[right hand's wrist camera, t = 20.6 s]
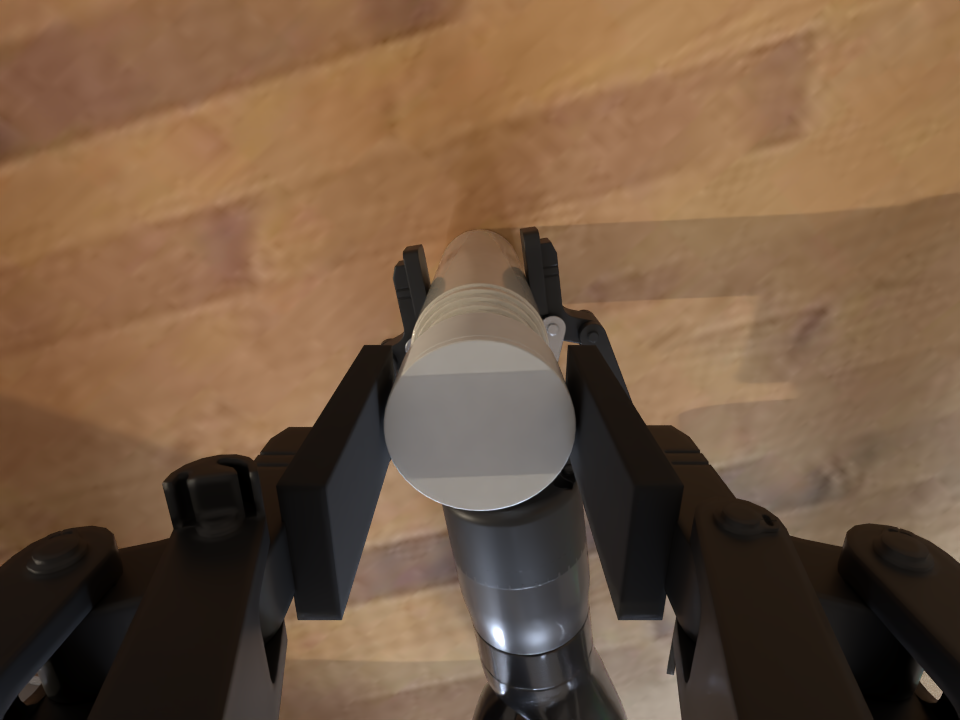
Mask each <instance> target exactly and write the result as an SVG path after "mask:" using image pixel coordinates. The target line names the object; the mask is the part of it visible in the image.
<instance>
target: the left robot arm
mask: <svg viewBox="0 0 960 720" xmlns="http://www.w3.org/2000/svg"><path fill="white" fill-rule="evenodd" d="M520 235H521V243H522V251H523V259H524V267H525V275H526V279H527V282H528V284H529V287H530V289H531V292H532V295H533V297H534V300H535V302H536V305H537V307H538V310H539V312H540V315H541V317H542V320H543V323H544V325H545V328H546V331H547V335H548V341H549V348H550V349H551V351H552V352H553V354H554V356H555V358H556V360H557V362H558V360H559V356H560V352H561V348H562V343H563V341H568V342H573V343H579V345H596V346H597V348H598V349H599V351H600V353H601V354H602V356H603V357H604V359H605V361H606V362H607V364H608V365H609V367H610V368H611V370H612V372H613V373H614V375H615V376H616V378H617V380H618V381H619V383H620V384H621V386H622V388H623V389H624V391H625V392H626V394H627V395H628V397H629V399H630V400H631V398H630V395H629V392H628V390H627V387H626V384H625V382H624V379H623V377H622V374H621V371H620V369H619V366H618V363H617V361H616V358H615V355H614V353H613V350H612V347H611V345H610V342H609V339H608V337H607V334H606V331H605V329H604V328H603V327H602V325H601V324H600V323H599V321H598V320H597V319H596V317H595V316H594V315H593V313H592V312H590V311H588V310H580V311H576V310H571V309H567V308H565V307H564V306H563V305H562V299H561V289H560V280H559V270H558V260H557V252H556V251H555V249H554V247H553V245H552V243H551V242H550V240H549V239H548V238H542V239H540V237H539V232H538V229H537V228H536V227H529V228H523V229H520ZM393 281H394V285H395V290H396V294H397V298H398V303H399V308H400V312H401V317H402V322H403V326H404V332H403V333H402V334H401V335H399V336H397V337H395V338H393V339H386V340H384V341H383V342H382V344H381V345H392V351H393V367H394V382H395V379H396V377H397V374H398V372H399V369H400V366H401V364H402V362H403V359H404V357H405V355H406V353H407V352H408V350H409V349H410V347H411V338H412V333H413V330H414V327H415V324H416V322H417V319H418V317H419V314H420V312H421V309H422V306H423V304H424V301H425V299H426V296H427V294H428V291H429V289H430V286H431V284H430V279H429V274H428V269H427V263H426V258H425V253H424V249H423V246H422V244H421V245H415V246H409V247H406V249H405V250H404V251H403V260H402V261H399V262H398V263H397V265H396V266H395V269H394V275H393ZM631 402H632V400H631ZM390 460H391V458H390ZM389 462H390V461H389ZM442 506H443V510H444V515H445V520H446V524H447V529H448V533H449V538H450V543H451V547H452V552H453V556H454V561H455V565H456V570H457V574H458V579H459V583H460V588H461V591H462V595H463V598H464V600H465V603H466V606H467V608H468V610H469V612H470V615H471V618H472V621H473V626H474V630H475V635H476V640H477V644H478V649H479V655H480V659H481V663H482V667H483V670H484V673H485V675H486V678H487V681H488V682H487V683H486V685H485V687H484V688H483V690H482V692H481V695H480V697H479V700H478V703H477V705H476V709H475V712H474V715H473V718H472V720H627V716H626V713H625V710H624V708H623V705H622V703H621V700H620V698H619V696H618V693H617V691H616V689H615V687H614V685H613V683H612V681H611V679H610V677H609V675H608V673H607V671H606V668H605V666H604V664H603V662H602V660H601V657H600V656H599V654H598V652H597V650H596V648H595V647H594V645H593V637H592V627H591V618H590V609H589V585H590V572H589V558H588V549H587V540H586V530H585V520H584V511H583V501H582V498H581V495H580V491H579V488H578V485H577V481H576V478H575V475H574V471H573V468H572V465H571V461H570V458H568V460H567V462H566V464H565V465H564V467H563V469H562V470H561V472H560V473H559V474H558V475H557V477H556V478H555V479H554V480H553V481H552V482H551V483H550V484H549V485H548V486H547V487H546V488H544V489H543V490H542V491H540V492H539V493H538V494H536V495H534V496H533V497H531V498H529V499H527V500H525V501H523V502H521V503H518V504H516V505H513V506H509V507H506V508H501V509H495V510H485V511H475V510H464V509H458V508H454V507H450V506H447V505H444V504H442Z"/></svg>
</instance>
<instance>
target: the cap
mask: <svg viewBox="0 0 960 720" xmlns="http://www.w3.org/2000/svg"><path fill="white" fill-rule="evenodd" d="M575 433H576V416H575V410H574V405H573V402H572V399H571V396H570V393H569V391H568V388H567V386H566V383H565V380H564V378H563V375H562V373H561V370H560V367H559V365H558V362H557V360H556V358H555V356H554V354H553V352H552V351H551V349H550V348H549V346H548V345H547V343H546V342H545V341H544V340H543V339H542V338H541V337H540V336H539V335H538V334H537V333H536V332H534V331H533V330H532V329H531V328H529V327H528V326H526V325H524V324H523V323H521V322H519V321H517V320H514V319H512V318H509V317H506V316H503V315H498V314H493V313H481V312H478V313H466V314H461V315H456V316H453V317H450V318H448V319H445V320H443V321H441V322H439V323H437V324H435V325H434V326H432V327H431V328H429V329H428V330H426V331H425V332H424V333H423V334H422V335H421V336H419V337H418V338H417V340H416V341H415V342H414V343H413V344H412V345H411V347H410V349H409V350H408V352H407V353H406V355H405V357H404V359H403V362H402V364H401V366H400V369H399V372H398V374H397V377H396V379H395V382H394V384H393V387H392V390H391V392H390V395H389V397H388V401H387V404H386V407H385V413H384V437H385V443H386V446H387V449H388V452H389V455H390V457H391V459H392V461H393V463H394V465H395V466H396V468H397V469H398V471H399V472H400V474H401V475H402V476H403V477H404V478H405V479H406V481H407V482H408V483H410V484H411V485H412V486H413V487H414V488H415V489H416V490H418V491H419V492H421V493H422V494H423V495H425V496H427V497H429V498H430V499H432V500H434V501H436V502H439V503H441V504H444V505H447V506H450V507H454V508H458V509H464V510H475V511H485V510H495V509H501V508H506V507H509V506H513V505H516V504H518V503H521V502H523V501H525V500H527V499H529V498H531V497H533V496H534V495H536V494H538V493H539V492H540V491H542V490H543V489H544V488H546V487H547V486H548V485H549V484H550V483H551V482H552V481H553V480H554V479H555V478H556V477H557V475H558V474H559V473H560V472H561V470H562V469H563V467H564V465H565V464H566V462H567V460H568V458H569V456H570V453H571V451H572V447H573V444H574V440H575Z"/></svg>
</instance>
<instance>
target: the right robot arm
mask: <svg viewBox="0 0 960 720" xmlns="http://www.w3.org/2000/svg"><path fill="white" fill-rule="evenodd" d="M393 384H394V367H393V351H392V345H364V346H363V348H362V349H361V351H360V353H359V354H358V356H357V357H356V359H355V360H354V362H353V364H352V365H351V367H350V368H349V370H348V372H347V373H346V375H345V376H344V378H343V380H342V381H341V383H340V384H339V386H338V388H337V389H336V391H335V392H334V394H333V395H332V397H331V399H330V400H329V402H328V403H327V405H326V407H325V408H324V410H323V411H322V413H321V415H320V416H319V418H318V419H317V421H316V423H315V424H314V426H313V427H288V428H287V429H285V430H284V431H282V432H280V433H279V434H277V435H276V436H274V437H273V438H271V439H270V440H269V442H268V443H267V444H266V446H265V447H264V448H263V450H262V451H261V452H260V455H258V456H257V457H256V459H255V460H254V461H253V460H252V459H251V458H249V457H246V456H241V455H237V454H231V455H216V456H211V457H206V458H202V459H199V460H197V461H194V462H191V463H189V464H186V465H184V466H182V467H181V468H179V469H177V470H176V471H174V472H173V473H171V474H170V475H169V476H168V477H167V478H166V479H165V481H164V482H163V483H162V485H163V489H164V493H165V497H166V501H167V505H168V509H169V513H170V517H171V521H172V525H173V528H174V530H173V532H172V534H171V536H170V538H168V539H164V540H161V541H157V542H152V543H147V544H142V545H137V546H132V547H127V548H122V549H118V547H117V544H116V541H115V537H114V534H113V533H111V532H110V531H109V530H108V529H106V528H103V527H96V526H86V527H77V528H70V529H66V530H63V531H58V532H56V533H53V534H50V535H48V536H47V537H45V538H42V539H40V540H38V541H36V542H34V543H32V544H30V545H29V546H27V547H26V548H24V549H23V550H21V551H20V552H18V553H17V554H15V555H14V556H13V557H11V558H10V559H9V560H8V561H7V562H6V563H4V564H3V565H2V566H1V567H0V720H278V719H279V711H280V702H281V693H282V684H283V675H284V667H285V658H286V649H287V634H286V627H285V621H284V617H285V615H286V613H287V610H288V608H289V606H290V603H291V601H292V599H293V596H294V600H295V606H296V612H297V618H298V620H342V618H343V614H344V611H345V608H346V604H347V601H348V598H349V594H350V591H351V588H352V584H353V581H354V578H355V574H356V571H357V568H358V564H359V561H360V558H361V554H362V551H363V548H364V544H365V541H366V538H367V534H368V531H369V528H370V525H371V521H372V518H373V515H374V511H375V508H376V505H377V501H378V498H379V495H380V491H381V488H382V485H383V481H384V478H385V475H386V471H387V468H388V465H389V461H390V458H391V457H390V455H389V452H388V449H387V446H386V443H385V437H384V413H385V407H386V404H387V401H388V397H389V395H390V392H391V390H392V387H393ZM566 386H567V388H568V391H569V393H570V396H571V399H572V402H573V405H574V410H575V416H576V433H575V440H574V444H573V447H572V451H571V453H570V456H569V458H570V461H571V465H572V468H573V471H574V475H575V478H576V481H577V485H578V488H579V491H580V495H581V498H582V501H583V505H584V508H585V511H586V515H587V518H588V521H589V525H590V528H591V531H592V535H593V538H594V541H595V544H596V548H597V551H598V554H599V558H600V561H601V564H602V568H603V571H604V574H605V578H606V581H607V584H608V588H609V591H610V594H611V598H612V601H613V604H614V608H615V611H616V614H617V618H618V620H662V618H663V612H664V606H665V600H666V594H667V596H668V598H669V601H670V603H671V605H672V608H673V610H674V612H675V615H676V621H675V627H674V633H673V638H672V644H671V650H670V656H669V661H668V668H667V674H671V675H674V671H675V665H676V674H677V683H678V692H679V701H680V709H681V718H682V720H960V563H958V562H957V561H956V560H955V559H954V558H953V557H951V556H950V555H949V554H948V553H946V552H945V551H943V550H942V549H940V548H939V547H937V546H936V545H934V544H933V543H932V542H930V541H928V540H926V539H924V538H921V537H919V536H917V535H915V534H913V533H912V532H910V531H907V530H904V529H901V528H900V529H898V528H897V527H892V526H887V525H878V524H862V525H856V526H854V527H853V528H851V529H850V530H849V531H848V532H847V534H846V537H845V541H844V544H843V547H839V546H835V545H830V544H825V543H820V542H815V541H810V540H805V539H801V538H797V537H793V536H790V535H789V533H788V531H787V529H786V527H785V526H784V525H783V524H782V522H781V521H780V520H779V518H778V517H776V516H775V515H773V514H772V513H771V512H769V511H768V510H766V509H765V508H763V507H761V506H758V505H756V504H754V503H751V502H749V501H745V500H741V499H737V498H736V497H735V496H734V495H733V493H732V492H731V491H730V490H729V488H728V487H727V486H726V484H725V483H724V482H723V480H722V479H721V478H720V476H719V475H718V474H717V472H716V471H715V470H714V468H713V467H712V466H711V465H709V464H708V461H707V459H706V458H705V457H704V455H703V454H702V453H700V450H699V449H698V447H697V446H696V445H695V443H694V442H693V441H692V439H691V438H690V437H689V436H687V435H686V434H684V433H683V432H681V431H679V430H678V429H676V428H675V427H673V426H672V425H646V424H645V423H644V421H643V419H642V418H641V416H640V415H639V413H638V411H637V410H636V408H635V407H634V405H633V403H632V402H631V400H630V399H629V397H628V395H627V394H626V392H625V391H624V389H623V388H622V386H621V384H620V383H619V381H618V380H617V378H616V376H615V375H614V373H613V372H612V370H611V368H610V367H609V365H608V364H607V362H606V361H605V359H604V357H603V356H602V354H601V353H600V351H599V349H598V348H597V346H596V345H568V351H567V367H566ZM923 671H925V672H926V673H927V674H928V675H929V676H930V677H931V679H932V680H933V681H934V682H935V683H936V684H937V685H938V687H939V688H940V689H941V690H942V691H943V693H942V696H941V698H940V699H939V700H937V699H935V698H934V697H933V696H932V695H931V694H930V693H929V692H928V691H927V690H926V688H925V687H924V686H923V685H922V684H921V682H920V678H921V676H922V674H923Z"/></svg>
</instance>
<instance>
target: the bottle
mask: <svg viewBox="0 0 960 720" xmlns="http://www.w3.org/2000/svg"><path fill="white" fill-rule="evenodd" d="M478 312H481V313H493V314H498V315H503V316H506V317H509V318H512V319H514V320H517V321H519V322H521V323H523V324H524V325H526V326H528V327H529V328H531V329H532V330H533V331H534V332H536V333H537V334H538V335H539V336H540V337H541V338H542V339H543V340H544V341H545V342H546V343H547V345H548V346H549V341H548V335H547V331H546V328H545V325H544V323H543V320H542V317H541V315H540V312H539V310H538V307H537V305H536V302H535V300H534V297H533V295H532V292H531V289H530V287H529V284H528V282H527V279H526V277H525V274H524V272H523V269H522V267H521V264H520V262H519V259H518V256H517V254H516V252H515V250H514V248H513V247H512V245H511V244H510V243H509V242H508V241H507V240H506V239H505V238H504V237H502V236H501V235H499V234H497V233H495V232H492V231H489V230H482V229H480V230H471V231H468V232H465V233H463V234H461V235H459V236H457V237H456V238H455V239H454V240H452V242H451V243H450V244H449V245H448V246H447V248H446V250H445V252H444V253H443V256H442V259H441V261H440V264H439V266H438V269H437V271H436V274H435V276H434V279H433V281H432V284H431V286H430V289H429V291H428V294H427V296H426V299H425V301H424V304H423V306H422V309H421V312H420V314H419V317H418V319H417V322H416V324H415V327H414V330H413V333H412V338H411V345H412V344H413V343H414V342H415V341H416V340H417V338H418V337H419V336H421V335H422V334H423V333H424V332H425V331H426V330H428V329H429V328H431V327H432V326H434V325H435V324H437V323H439V322H441V321H443V320H445V319H448V318H450V317H453V316H456V315H461V314H466V313H478Z"/></svg>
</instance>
